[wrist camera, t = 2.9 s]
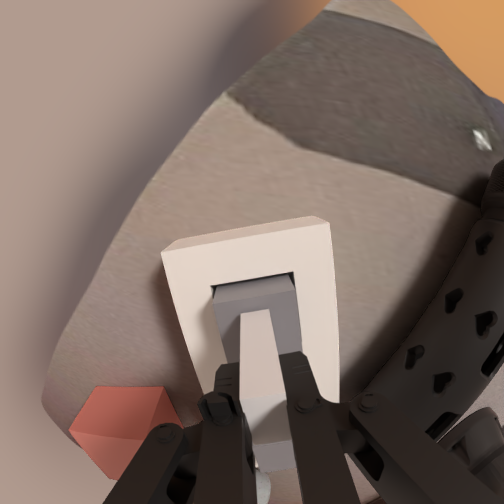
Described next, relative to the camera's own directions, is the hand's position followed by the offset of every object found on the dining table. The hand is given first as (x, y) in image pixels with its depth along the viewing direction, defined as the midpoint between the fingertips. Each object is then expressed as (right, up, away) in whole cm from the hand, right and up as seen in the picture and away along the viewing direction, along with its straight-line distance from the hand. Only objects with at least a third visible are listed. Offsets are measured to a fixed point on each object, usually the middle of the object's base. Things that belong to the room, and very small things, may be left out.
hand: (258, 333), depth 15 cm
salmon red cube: (-12, -13, +9) cm, 20 cm away
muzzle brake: (+18, +1, +7) cm, 19 cm away
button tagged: (0, +1, +4) cm, 4 cm away
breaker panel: (+1, -4, +8) cm, 9 cm away
